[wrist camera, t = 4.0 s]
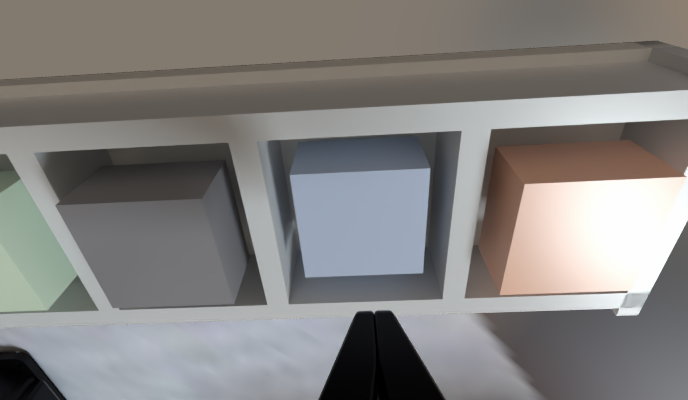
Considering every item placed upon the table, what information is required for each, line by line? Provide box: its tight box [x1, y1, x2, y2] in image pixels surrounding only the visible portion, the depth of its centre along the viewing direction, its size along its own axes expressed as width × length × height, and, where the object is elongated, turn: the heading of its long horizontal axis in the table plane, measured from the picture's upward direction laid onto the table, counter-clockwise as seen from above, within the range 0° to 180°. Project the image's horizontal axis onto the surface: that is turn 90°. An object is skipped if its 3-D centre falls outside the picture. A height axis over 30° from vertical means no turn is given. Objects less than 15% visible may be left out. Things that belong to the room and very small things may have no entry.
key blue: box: [290, 136, 430, 278], centre depth 13 cm, size 4×4×2 cm
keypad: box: [0, 41, 688, 328], centre depth 14 cm, size 27×9×4 cm, turn 93°
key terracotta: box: [478, 140, 687, 295], centre depth 12 cm, size 4×4×2 cm
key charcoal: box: [55, 160, 250, 308], centre depth 13 cm, size 4×4×2 cm
